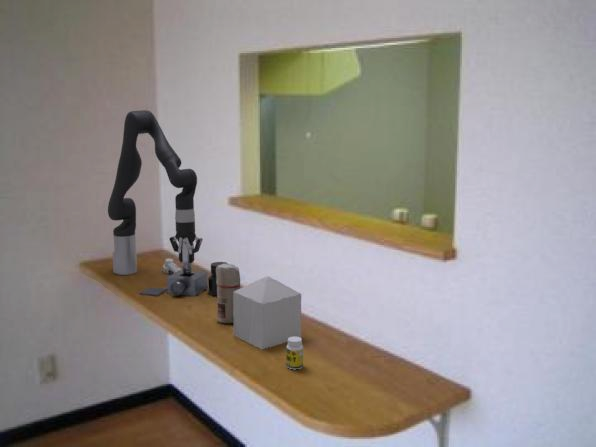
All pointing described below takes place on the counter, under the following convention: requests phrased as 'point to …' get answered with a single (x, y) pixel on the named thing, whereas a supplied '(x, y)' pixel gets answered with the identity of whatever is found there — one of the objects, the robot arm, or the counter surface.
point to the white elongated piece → (170, 266)
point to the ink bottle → (214, 278)
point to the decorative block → (266, 313)
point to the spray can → (226, 291)
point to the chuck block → (187, 283)
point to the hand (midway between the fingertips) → (186, 262)
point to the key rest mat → (153, 291)
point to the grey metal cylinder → (185, 258)
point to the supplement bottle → (294, 353)
